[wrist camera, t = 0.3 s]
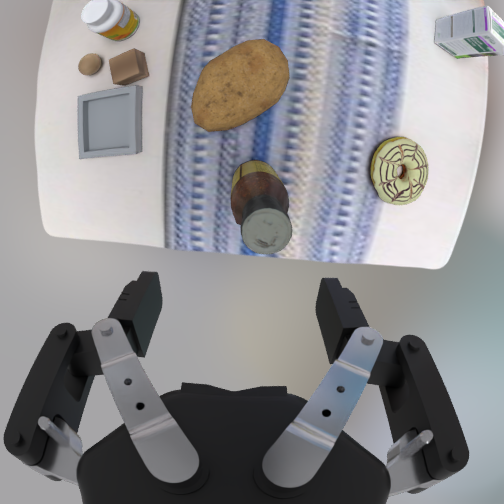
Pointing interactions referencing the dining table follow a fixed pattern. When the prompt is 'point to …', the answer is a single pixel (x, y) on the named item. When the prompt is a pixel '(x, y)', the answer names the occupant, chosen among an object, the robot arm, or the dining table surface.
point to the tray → (110, 122)
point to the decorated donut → (386, 170)
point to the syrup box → (471, 33)
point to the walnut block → (128, 67)
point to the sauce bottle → (261, 207)
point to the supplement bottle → (110, 19)
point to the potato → (239, 85)
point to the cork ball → (89, 64)
